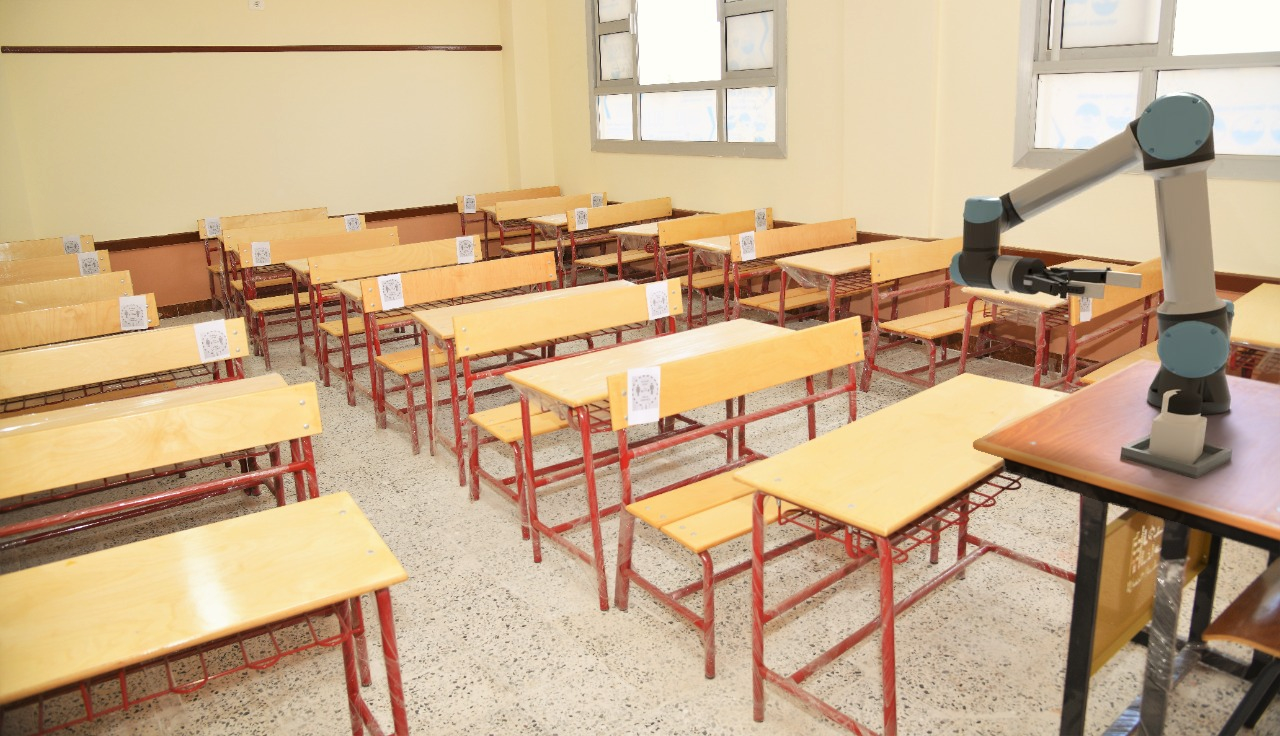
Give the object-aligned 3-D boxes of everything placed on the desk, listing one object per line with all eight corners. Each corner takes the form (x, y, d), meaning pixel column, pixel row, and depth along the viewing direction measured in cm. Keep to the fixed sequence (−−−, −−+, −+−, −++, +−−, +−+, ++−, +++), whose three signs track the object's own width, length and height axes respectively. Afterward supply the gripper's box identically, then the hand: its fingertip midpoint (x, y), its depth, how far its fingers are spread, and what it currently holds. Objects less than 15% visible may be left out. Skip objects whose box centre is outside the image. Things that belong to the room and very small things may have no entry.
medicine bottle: (1202, 454, 161) (1211, 391, 158) (1192, 465, 156) (1201, 401, 153) (1158, 445, 166) (1166, 384, 163) (1147, 456, 161) (1155, 393, 158)
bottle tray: (1156, 440, 170) (1157, 430, 169) (1230, 460, 160) (1232, 449, 159) (1120, 457, 163) (1121, 446, 162) (1195, 478, 153) (1197, 467, 152)
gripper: (1052, 284, 194) (1153, 296, 177) (983, 301, 180) (1085, 316, 163) (1054, 249, 192) (1156, 258, 175) (985, 265, 178) (1088, 276, 161)
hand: (1122, 286), depth 169 cm, fingers open, 13 cm apart
